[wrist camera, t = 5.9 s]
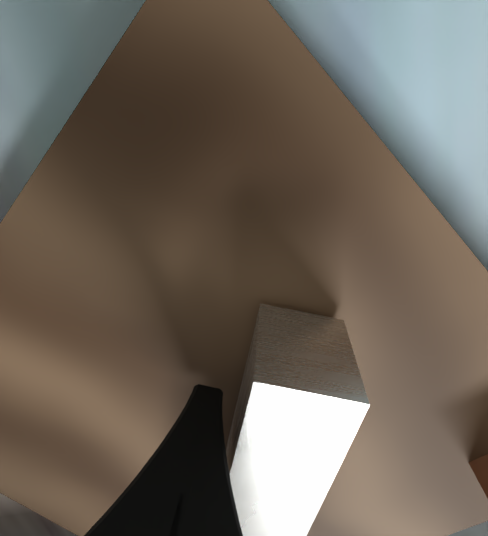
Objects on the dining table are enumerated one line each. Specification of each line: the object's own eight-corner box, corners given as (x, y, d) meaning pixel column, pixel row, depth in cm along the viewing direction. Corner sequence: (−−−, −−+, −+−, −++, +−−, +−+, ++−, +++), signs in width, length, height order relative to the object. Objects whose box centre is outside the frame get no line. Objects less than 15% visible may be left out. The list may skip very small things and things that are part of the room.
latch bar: (257, 572, 16) (251, 716, 12) (191, 558, 16) (164, 698, 12) (357, 322, 10) (409, 465, 6) (246, 300, 10) (226, 428, 6)
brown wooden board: (225, 581, 20) (212, 699, 16) (-94, 393, 15) (-226, 496, 11) (606, 426, 13) (759, 576, 9) (213, -50, 8) (143, -220, 4)
